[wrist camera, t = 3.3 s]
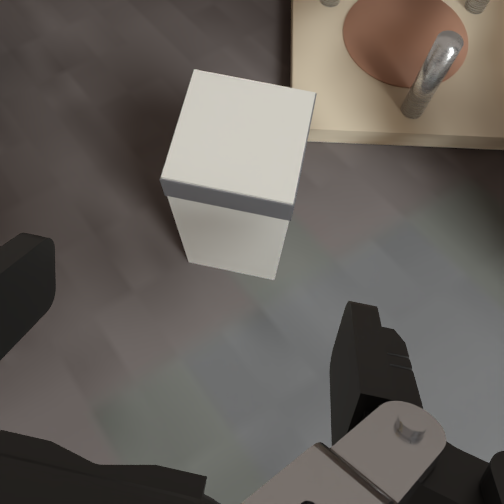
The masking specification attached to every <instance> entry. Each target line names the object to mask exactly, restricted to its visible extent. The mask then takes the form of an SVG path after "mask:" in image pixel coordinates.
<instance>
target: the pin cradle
mask: <svg viewBox="0 0 504 504" xmlns="http://www.w3.org/2000/svg"><path fill="white" fill-rule="evenodd" d="M290 88H295V89H300V90H305V91H311V92H316V93H317V95H316V100H315V105H314V110H313V115H312V120H311V125H310V130H309V135H308V140H307V141H310V142H333V143H356V144H379V145H402V146H425V147H448V148H471V149H494V150H504V0H291V67H290Z"/></svg>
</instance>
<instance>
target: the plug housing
mask: <svg viewBox="0 0 504 504" xmlns="http://www.w3.org/2000/svg"><path fill="white" fill-rule="evenodd" d="M316 95H317V93H316V92H311V91H305V90H300V89H295V88H290V87H284V86H279V85H274V84H269V83H263V82H258V81H253V80H248V79H242V78H237V77H232V76H227V75H222V74H216V73H211V72H206V71H201V70H195V69H194V70H193V72H192V76H191V79H190V82H189V85H188V89H187V92H186V95H185V98H184V102H183V105H182V108H181V111H180V115H179V118H178V121H177V124H176V127H175V131H174V134H173V137H172V140H171V144H170V147H169V150H168V153H167V157H166V160H165V163H164V166H163V170H162V173H161V176H160V182H161V185H162V188H163V191H164V194H165V196H167V197H168V200H169V203H170V207H171V210H172V213H173V216H174V219H175V222H176V225H177V228H178V231H179V234H180V237H181V240H182V244H183V247H184V250H185V253H186V256H187V259H188V262H190V263H195V264H200V265H204V266H209V267H214V268H219V269H224V270H228V271H233V272H238V273H243V274H247V275H252V276H257V277H262V278H266V279H271V280H274V279H275V275H276V271H277V267H278V263H279V259H280V255H281V251H282V247H283V243H284V239H285V235H286V231H287V227H288V223H289V221H291V218H292V214H293V210H294V206H295V201H296V196H297V191H298V186H299V181H300V176H301V171H302V166H303V161H304V156H305V150H306V145H307V140H308V135H309V130H310V125H311V120H312V115H313V110H314V105H315V100H316Z"/></svg>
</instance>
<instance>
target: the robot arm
mask: <svg viewBox="0 0 504 504" xmlns="http://www.w3.org/2000/svg"><path fill="white" fill-rule="evenodd" d="M55 290H56V284H55V246H54V242H53V240H52V239H50V238H46V237H42V236H37V235H32V234H27V233H21V234H19V235H17V236H16V237H14V238H13V239H12V240H10V241H9V242H7V243H6V244H4V245H3V246H0V360H1V359H2V358H3V357H4V356H5V355H6V354H7V353H8V352H9V351H10V350H11V349H12V348H13V347H14V345H15V344H16V343H17V342H18V341H19V340H20V339H21V338H22V337H23V336H24V335H25V334H26V333H27V332H28V331H29V330H30V329H31V328H32V327H33V326H34V325H35V324H36V323H37V322H38V320H39V319H40V318H41V317H42V316H43V315H44V314H45V313H46V312H47V311H48V310H49V308H50V307H51V305H52V302H53V300H54V296H55ZM330 399H331V433H332V447H331V448H328V447H327V446H326V445H324V444H323V443H321V442H319V443H316V444H314V445H313V446H311V447H310V448H309V449H307V450H306V451H305V452H304V453H303V454H301V455H300V456H299V457H298V458H296V459H295V460H294V461H293V462H291V463H290V464H289V465H288V466H287V467H285V468H284V469H283V470H282V471H280V472H279V473H278V474H277V475H275V476H274V477H273V478H272V479H271V480H269V481H268V482H267V483H266V484H264V485H263V486H262V487H261V488H259V489H258V490H257V491H256V492H254V493H253V494H252V495H251V496H250V497H248V498H247V499H246V500H245V501H243V502H242V503H241V504H504V451H501V452H498V453H496V454H495V455H494V456H493V457H492V459H491V461H490V463H488V462H485V461H483V460H481V459H479V458H477V457H475V456H472V455H470V454H468V453H466V452H464V451H462V450H460V449H458V448H456V447H454V446H453V445H451V444H449V443H448V442H447V441H446V435H445V432H444V430H443V428H442V426H441V425H440V423H439V422H438V421H437V420H436V419H435V418H434V417H433V416H432V415H431V414H429V413H428V412H427V411H425V410H424V409H423V406H422V402H421V399H420V395H419V391H418V388H417V384H416V380H415V377H414V373H413V371H412V366H411V362H410V360H409V355H408V351H407V347H406V344H405V342H404V341H403V340H402V338H401V337H400V336H399V335H398V334H397V332H396V331H395V330H394V329H390V328H385V327H381V322H380V317H379V312H378V308H377V307H376V306H371V305H366V304H362V303H357V302H352V301H348V303H347V305H346V307H345V310H344V314H343V317H342V320H341V324H340V327H339V330H338V334H337V337H336V341H335V344H334V347H333V351H332V356H331V362H330ZM206 479H207V476H202V475H198V474H193V473H189V472H184V471H180V470H176V469H171V468H167V467H162V466H158V465H98V464H95V463H92V462H90V461H88V460H86V459H84V458H82V457H81V456H79V455H77V454H75V453H73V452H71V451H69V450H67V449H65V448H63V447H61V446H59V445H57V444H55V443H53V442H51V441H48V440H43V439H39V438H34V437H30V436H25V435H21V434H17V433H12V432H8V431H3V430H1V431H0V504H220V503H218V502H217V501H215V500H214V499H212V498H211V497H209V496H207V495H205V494H204V490H205V485H206Z"/></svg>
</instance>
